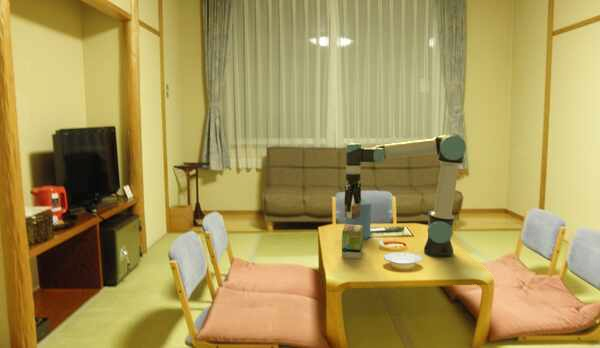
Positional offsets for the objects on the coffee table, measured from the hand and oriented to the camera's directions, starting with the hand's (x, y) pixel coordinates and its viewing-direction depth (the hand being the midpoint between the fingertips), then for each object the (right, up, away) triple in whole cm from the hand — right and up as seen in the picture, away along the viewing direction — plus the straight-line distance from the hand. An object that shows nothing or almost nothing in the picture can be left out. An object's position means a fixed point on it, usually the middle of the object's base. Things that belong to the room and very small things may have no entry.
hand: (352, 216), depth 257 cm
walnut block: (0, 0, 0) cm, 0 cm away
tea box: (0, -21, +3) cm, 21 cm away
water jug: (+7, -15, +38) cm, 42 cm away
